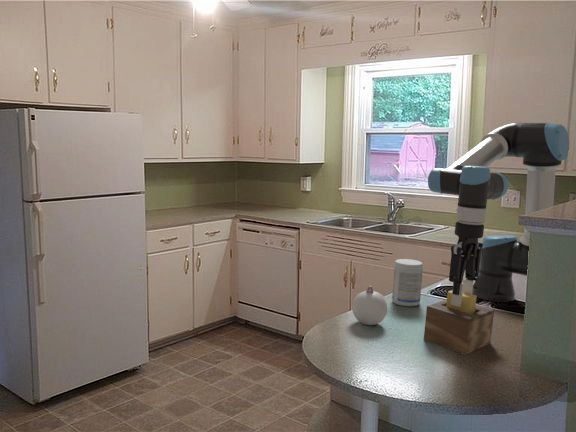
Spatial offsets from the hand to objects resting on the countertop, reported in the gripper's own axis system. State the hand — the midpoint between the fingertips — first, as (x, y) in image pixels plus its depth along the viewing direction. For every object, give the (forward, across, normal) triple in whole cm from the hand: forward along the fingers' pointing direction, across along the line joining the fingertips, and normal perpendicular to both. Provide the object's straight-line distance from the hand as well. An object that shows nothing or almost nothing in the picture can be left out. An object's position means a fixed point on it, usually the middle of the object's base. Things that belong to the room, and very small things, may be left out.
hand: (461, 303), depth 151 cm
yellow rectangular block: (+5, 0, 0) cm, 5 cm away
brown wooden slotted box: (+11, 0, 0) cm, 11 cm away
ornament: (+11, +10, -24) cm, 28 cm away
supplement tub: (+11, -18, -30) cm, 37 cm away
